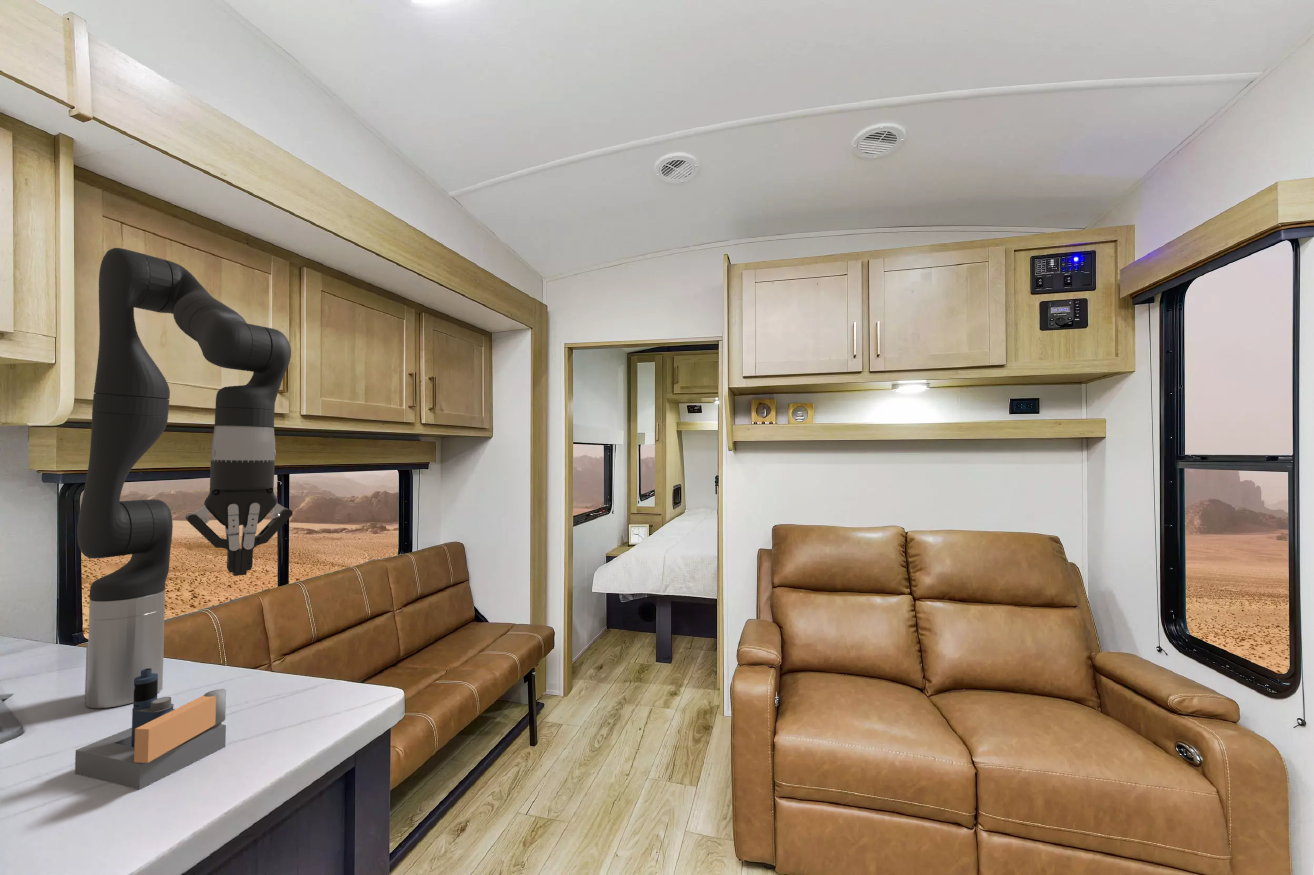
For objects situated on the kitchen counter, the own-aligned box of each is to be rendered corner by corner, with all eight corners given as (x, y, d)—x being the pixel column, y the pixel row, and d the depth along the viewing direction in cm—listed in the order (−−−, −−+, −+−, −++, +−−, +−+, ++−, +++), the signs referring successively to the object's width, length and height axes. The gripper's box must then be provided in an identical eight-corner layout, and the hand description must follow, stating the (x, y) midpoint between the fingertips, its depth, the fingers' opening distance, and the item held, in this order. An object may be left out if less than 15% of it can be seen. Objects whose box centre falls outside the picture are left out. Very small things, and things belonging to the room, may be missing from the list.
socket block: (74, 773, 69) (75, 748, 69) (167, 733, 79) (168, 711, 79) (139, 789, 65) (140, 763, 66) (227, 745, 75) (228, 722, 75)
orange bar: (213, 717, 76) (214, 688, 76) (229, 717, 76) (230, 689, 76) (131, 762, 65) (132, 728, 65) (150, 762, 65) (151, 729, 65)
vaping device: (146, 754, 73) (149, 665, 74) (178, 757, 72) (181, 667, 73) (125, 764, 71) (127, 672, 71) (157, 768, 70) (160, 675, 70)
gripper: (290, 457, 87) (286, 564, 86) (182, 456, 77) (176, 577, 77) (302, 458, 81) (298, 572, 81) (187, 458, 72) (181, 587, 72)
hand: (239, 574), depth 79 cm, fingers closed
